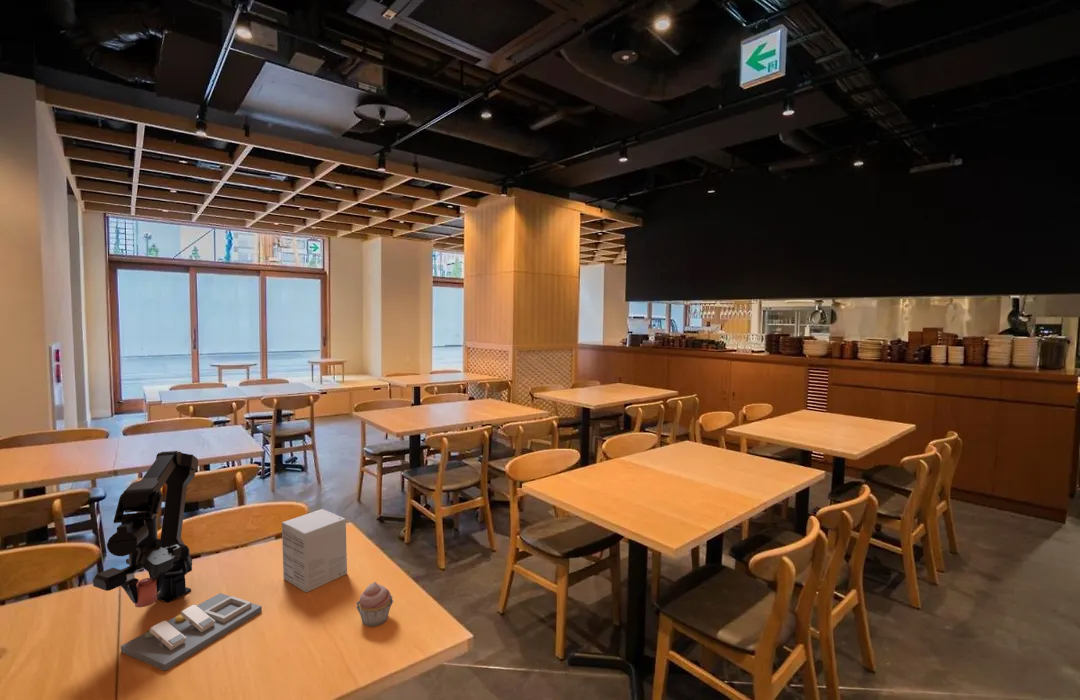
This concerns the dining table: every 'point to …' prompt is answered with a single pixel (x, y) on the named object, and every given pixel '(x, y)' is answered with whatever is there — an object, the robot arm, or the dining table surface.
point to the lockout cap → (146, 592)
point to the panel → (192, 632)
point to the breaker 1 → (168, 634)
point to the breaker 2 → (198, 618)
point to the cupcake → (374, 605)
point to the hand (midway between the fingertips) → (145, 598)
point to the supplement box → (314, 549)
